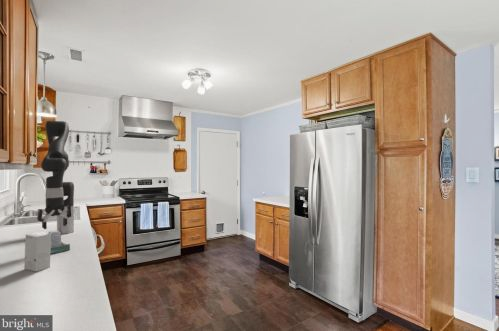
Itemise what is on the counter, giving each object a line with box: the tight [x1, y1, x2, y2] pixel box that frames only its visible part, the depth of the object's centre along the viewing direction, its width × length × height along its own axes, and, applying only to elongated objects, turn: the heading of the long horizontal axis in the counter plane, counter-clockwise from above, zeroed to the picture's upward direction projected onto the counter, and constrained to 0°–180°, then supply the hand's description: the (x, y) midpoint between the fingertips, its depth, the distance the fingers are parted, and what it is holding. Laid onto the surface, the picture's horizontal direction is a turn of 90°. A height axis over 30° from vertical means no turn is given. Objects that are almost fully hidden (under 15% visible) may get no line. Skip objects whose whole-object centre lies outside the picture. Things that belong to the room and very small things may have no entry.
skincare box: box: [23, 231, 51, 272], centre depth 114 cm, size 8×6×15 cm
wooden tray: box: [50, 241, 71, 255], centre depth 142 cm, size 24×9×3 cm, turn 53°
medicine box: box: [47, 230, 62, 248], centre depth 138 cm, size 8×4×9 cm, turn 44°
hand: (55, 227), depth 138 cm, fingers open, 8 cm apart
